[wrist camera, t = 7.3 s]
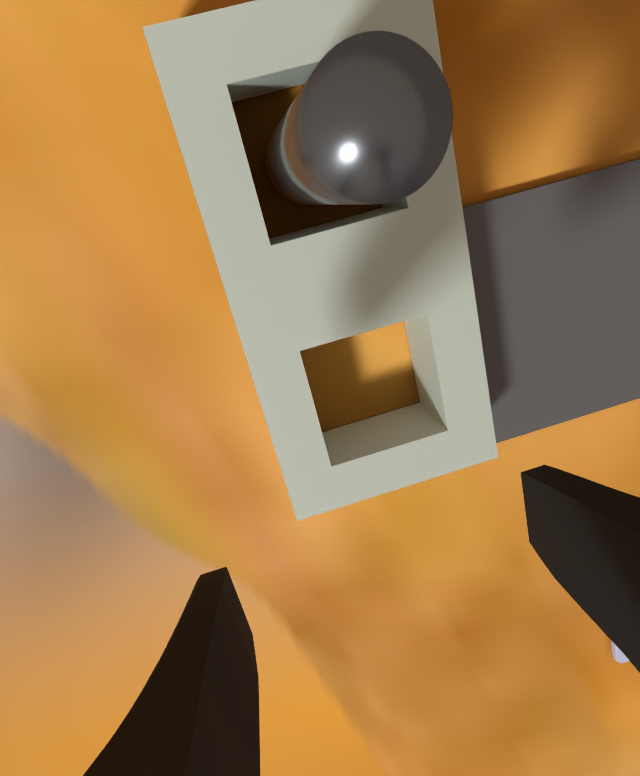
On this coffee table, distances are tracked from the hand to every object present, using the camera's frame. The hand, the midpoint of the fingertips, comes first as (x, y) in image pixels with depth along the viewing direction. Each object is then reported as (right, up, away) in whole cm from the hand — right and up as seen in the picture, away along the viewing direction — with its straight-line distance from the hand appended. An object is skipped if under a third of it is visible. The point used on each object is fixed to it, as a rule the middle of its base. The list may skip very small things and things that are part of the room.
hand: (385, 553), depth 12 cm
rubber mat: (+10, +7, +10) cm, 16 cm away
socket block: (-1, +8, +8) cm, 11 cm away
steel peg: (-2, +12, +6) cm, 13 cm away
